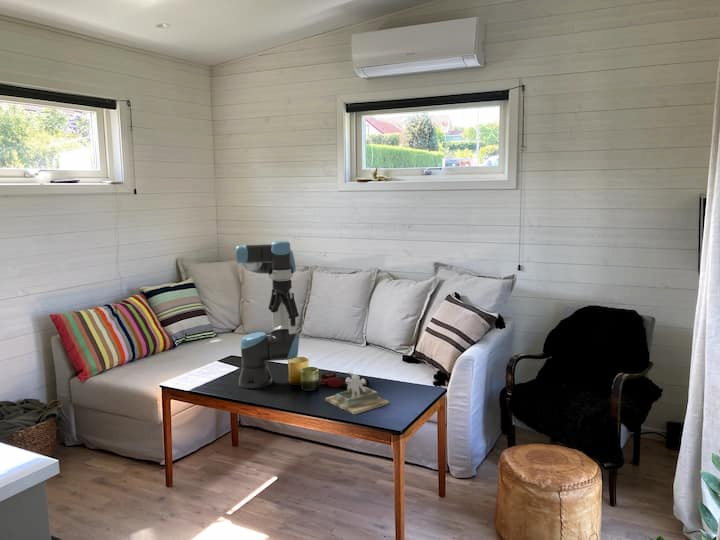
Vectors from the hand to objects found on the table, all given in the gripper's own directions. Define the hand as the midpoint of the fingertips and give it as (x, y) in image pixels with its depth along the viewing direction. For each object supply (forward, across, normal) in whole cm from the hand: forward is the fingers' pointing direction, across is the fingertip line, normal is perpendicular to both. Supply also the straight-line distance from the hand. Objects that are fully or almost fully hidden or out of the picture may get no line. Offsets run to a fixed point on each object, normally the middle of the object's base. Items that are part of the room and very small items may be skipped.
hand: (283, 330), depth 243 cm
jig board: (+32, +17, +24) cm, 43 cm away
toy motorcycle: (+32, -4, +30) cm, 44 cm away
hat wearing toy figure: (+31, +17, +24) cm, 42 cm away
